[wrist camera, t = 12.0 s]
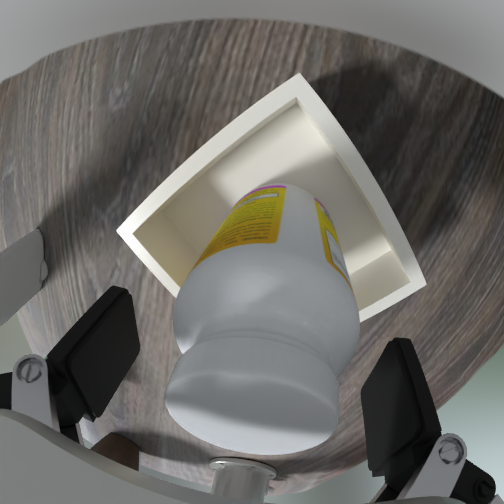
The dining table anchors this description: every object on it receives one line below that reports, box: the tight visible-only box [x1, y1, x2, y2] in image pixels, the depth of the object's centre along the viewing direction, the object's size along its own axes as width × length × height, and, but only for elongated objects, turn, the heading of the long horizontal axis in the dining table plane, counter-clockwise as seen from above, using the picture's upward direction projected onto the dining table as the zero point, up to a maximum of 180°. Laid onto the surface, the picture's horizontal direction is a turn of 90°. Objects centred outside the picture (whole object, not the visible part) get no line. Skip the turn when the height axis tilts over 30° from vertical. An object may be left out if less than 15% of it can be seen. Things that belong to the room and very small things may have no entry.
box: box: [116, 73, 427, 322], centre depth 16 cm, size 13×13×5 cm
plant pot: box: [90, 433, 139, 471], centre depth 38 cm, size 15×15×16 cm
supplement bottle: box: [165, 183, 360, 455], centre depth 12 cm, size 7×7×13 cm
